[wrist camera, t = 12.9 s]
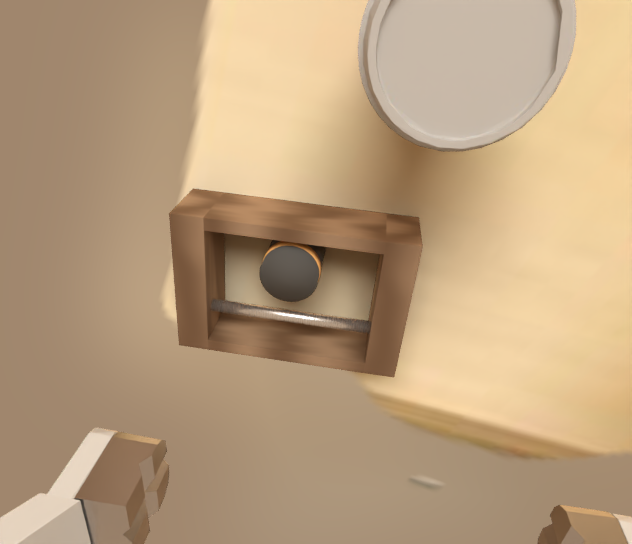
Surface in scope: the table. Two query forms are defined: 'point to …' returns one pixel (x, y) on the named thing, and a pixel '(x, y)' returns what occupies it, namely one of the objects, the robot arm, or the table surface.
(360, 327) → the metal rod
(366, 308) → the table surface
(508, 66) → the disposable coffee cup
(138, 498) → the robot arm
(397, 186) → the table surface
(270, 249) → the orange-banded dark cylinder
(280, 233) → the brown wooden frame
